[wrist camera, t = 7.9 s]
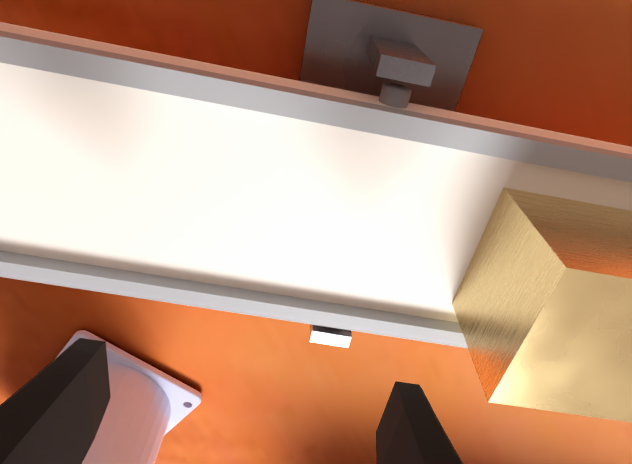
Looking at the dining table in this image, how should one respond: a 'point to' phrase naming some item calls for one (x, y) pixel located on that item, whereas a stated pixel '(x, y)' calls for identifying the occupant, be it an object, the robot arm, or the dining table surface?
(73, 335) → the robot arm
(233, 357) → the dining table surface
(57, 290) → the dining table surface
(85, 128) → the beam
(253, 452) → the dining table surface
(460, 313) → the brass bar
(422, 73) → the beam stand
